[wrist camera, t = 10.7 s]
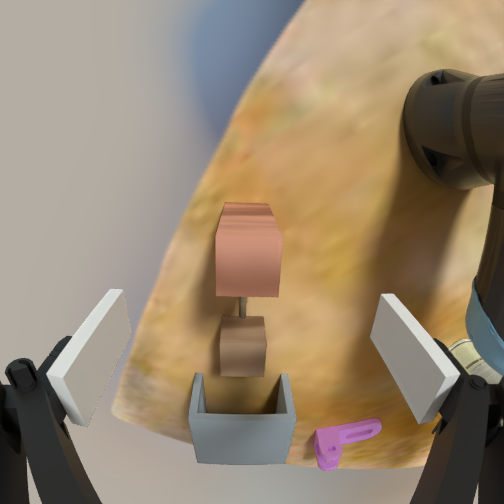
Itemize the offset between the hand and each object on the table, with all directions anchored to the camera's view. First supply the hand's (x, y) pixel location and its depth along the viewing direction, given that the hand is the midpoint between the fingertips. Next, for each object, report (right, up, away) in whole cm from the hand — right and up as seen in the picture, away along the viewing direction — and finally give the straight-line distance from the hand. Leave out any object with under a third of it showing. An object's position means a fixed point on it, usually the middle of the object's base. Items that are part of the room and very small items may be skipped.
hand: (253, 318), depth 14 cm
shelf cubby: (-2, -19, +27) cm, 33 cm away
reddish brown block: (-1, 0, +20) cm, 20 cm away
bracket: (+18, -30, +32) cm, 47 cm away
